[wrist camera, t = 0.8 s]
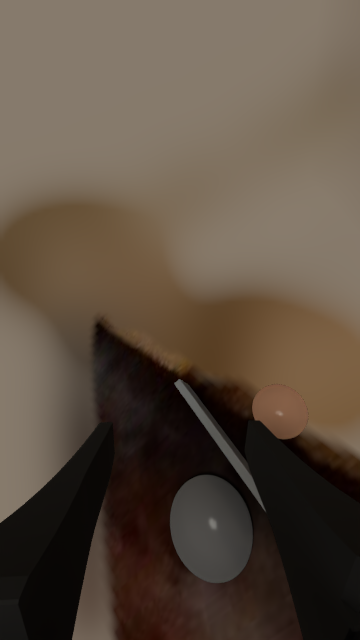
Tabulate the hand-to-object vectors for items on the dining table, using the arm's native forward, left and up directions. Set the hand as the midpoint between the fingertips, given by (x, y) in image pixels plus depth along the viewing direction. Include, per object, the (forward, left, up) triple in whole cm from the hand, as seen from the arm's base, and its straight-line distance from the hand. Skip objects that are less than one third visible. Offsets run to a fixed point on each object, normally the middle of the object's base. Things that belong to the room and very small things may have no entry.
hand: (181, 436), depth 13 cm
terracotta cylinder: (-2, -6, -16) cm, 17 cm away
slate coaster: (-5, +6, -16) cm, 18 cm away
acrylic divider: (-3, 0, -16) cm, 16 cm away
